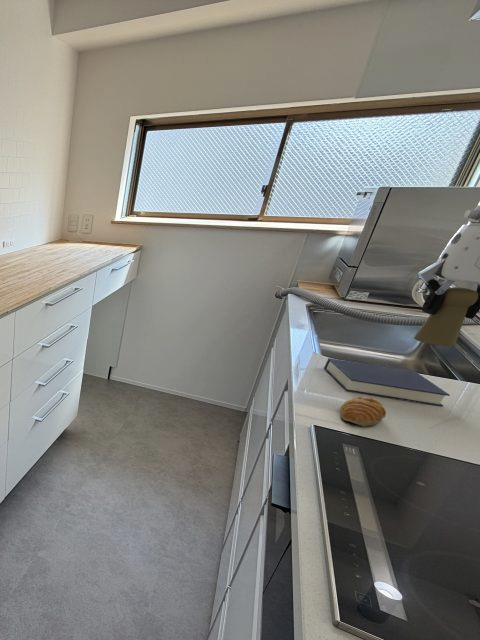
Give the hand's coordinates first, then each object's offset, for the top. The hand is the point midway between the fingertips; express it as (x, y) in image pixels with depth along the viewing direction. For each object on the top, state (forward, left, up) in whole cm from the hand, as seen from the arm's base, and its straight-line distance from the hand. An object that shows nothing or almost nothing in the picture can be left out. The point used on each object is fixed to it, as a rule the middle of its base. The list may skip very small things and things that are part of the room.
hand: (447, 313), depth 83 cm
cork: (0, 0, -6) cm, 6 cm away
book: (-1, -11, -21) cm, 24 cm away
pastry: (+11, +11, -21) cm, 26 cm away
